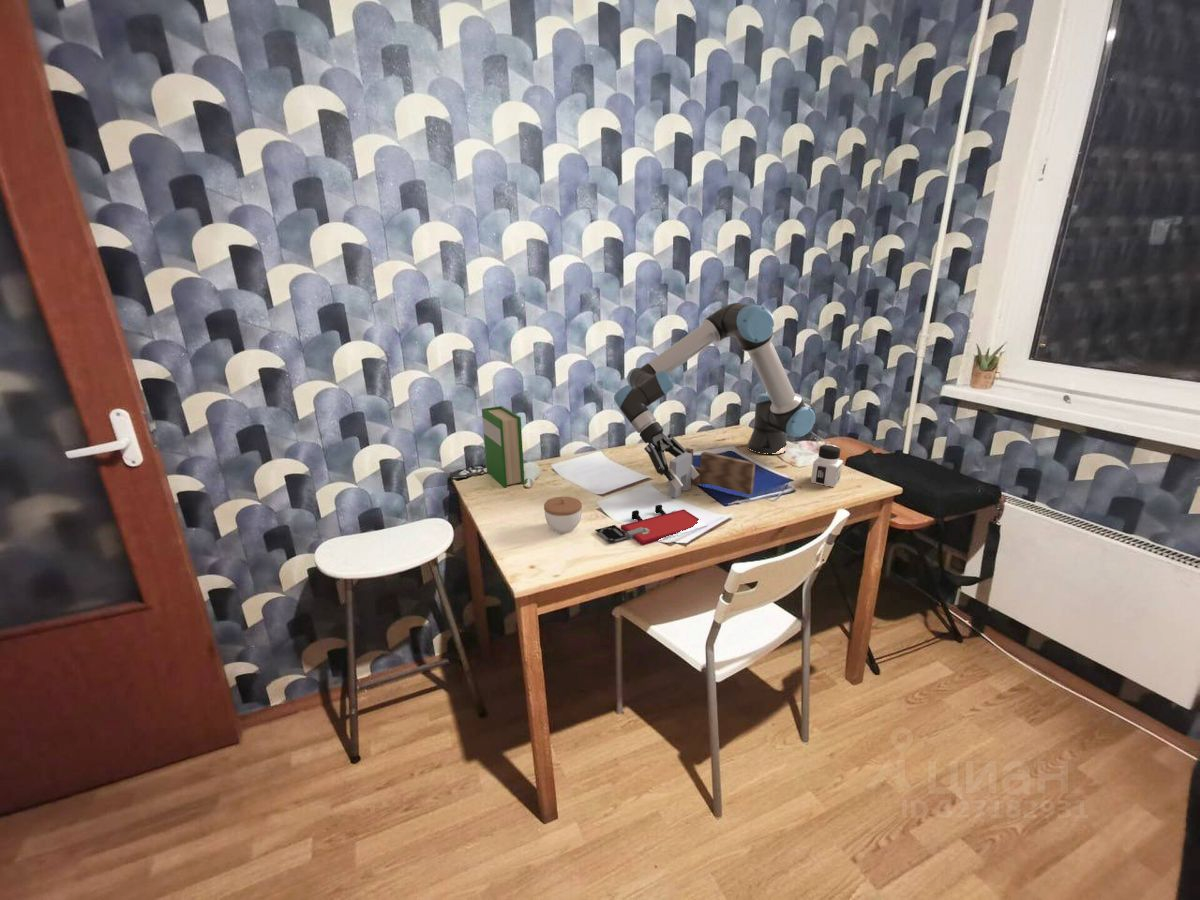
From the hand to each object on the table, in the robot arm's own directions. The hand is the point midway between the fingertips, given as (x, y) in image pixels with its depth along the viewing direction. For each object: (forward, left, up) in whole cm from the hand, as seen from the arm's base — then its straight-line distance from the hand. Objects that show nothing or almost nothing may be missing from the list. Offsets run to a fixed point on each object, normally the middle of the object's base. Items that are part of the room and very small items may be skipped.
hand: (688, 482), depth 171 cm
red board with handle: (+14, -21, -6) cm, 26 cm away
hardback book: (-40, -51, -5) cm, 65 cm away
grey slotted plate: (-3, -1, -4) cm, 5 cm away
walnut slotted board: (-1, +12, -5) cm, 13 cm away
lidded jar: (+5, -44, -5) cm, 45 cm away
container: (+8, +50, -5) cm, 51 cm away
